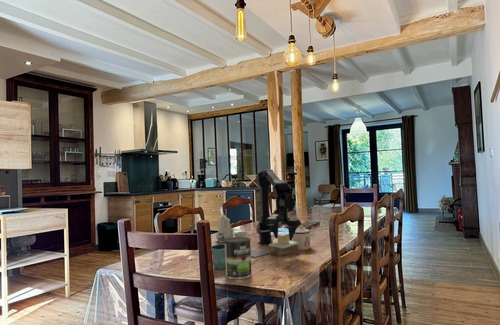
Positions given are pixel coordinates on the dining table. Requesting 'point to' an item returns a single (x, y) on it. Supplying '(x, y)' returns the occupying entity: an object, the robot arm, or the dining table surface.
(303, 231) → the teacup with lid
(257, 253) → the coaster
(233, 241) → the coffee can
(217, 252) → the flower pot
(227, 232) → the chinaware
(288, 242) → the lid
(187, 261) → the dining table surface
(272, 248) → the box
